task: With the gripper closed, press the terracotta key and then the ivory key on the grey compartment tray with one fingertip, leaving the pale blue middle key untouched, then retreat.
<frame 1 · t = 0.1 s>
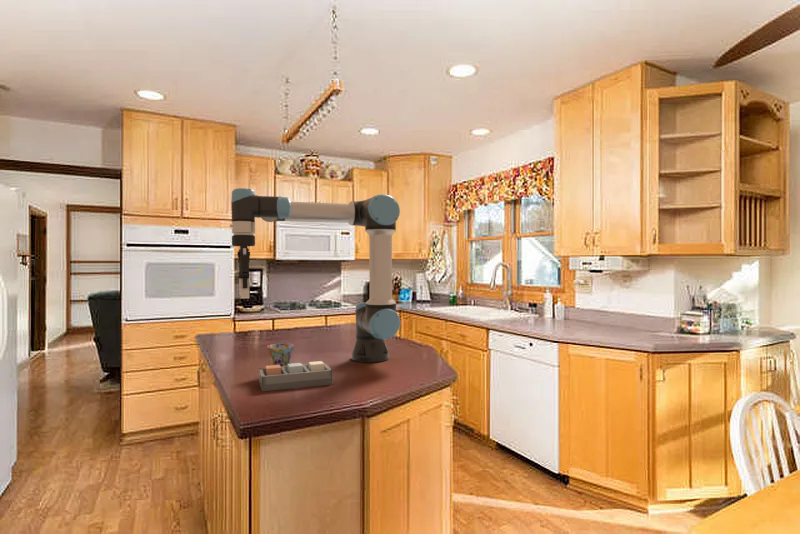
hand: (244, 297, 156), 28 cm above the counter, fingers open, 13 cm apart
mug: (280, 375, 161), on the counter
key middle: (295, 368, 150), point 5 cm above the counter, slide at 0.0 cm
key 2: (316, 366, 153), point 5 cm above the counter, slide at 0.0 cm
key 1: (273, 370, 148), point 5 cm above the counter, slide at 0.0 cm
grey compartment tray: (295, 382, 150), on the counter
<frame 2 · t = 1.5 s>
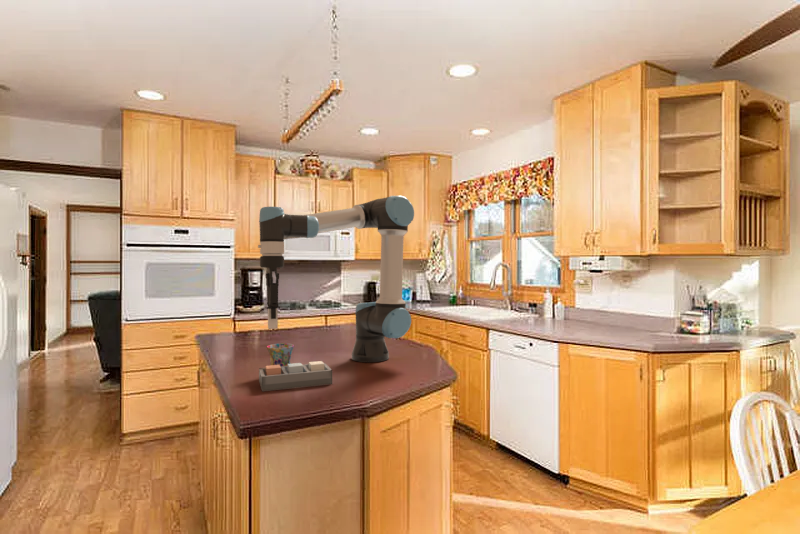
hand: (272, 328, 148), 18 cm above the counter, fingers closed
nothing on the counter moved.
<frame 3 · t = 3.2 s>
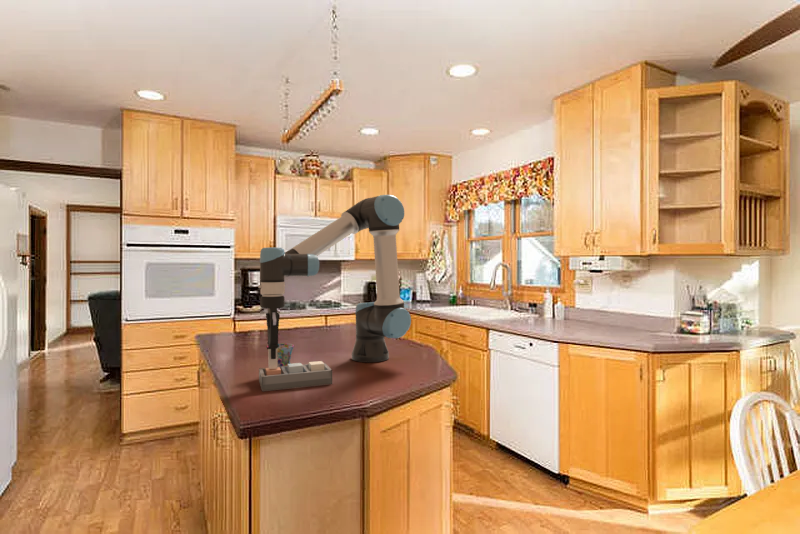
hand: (272, 368, 148), 5 cm above the counter, fingers closed
key 1: (273, 372, 148), point 4 cm above the counter, slide at -0.8 cm
everything else where it was.
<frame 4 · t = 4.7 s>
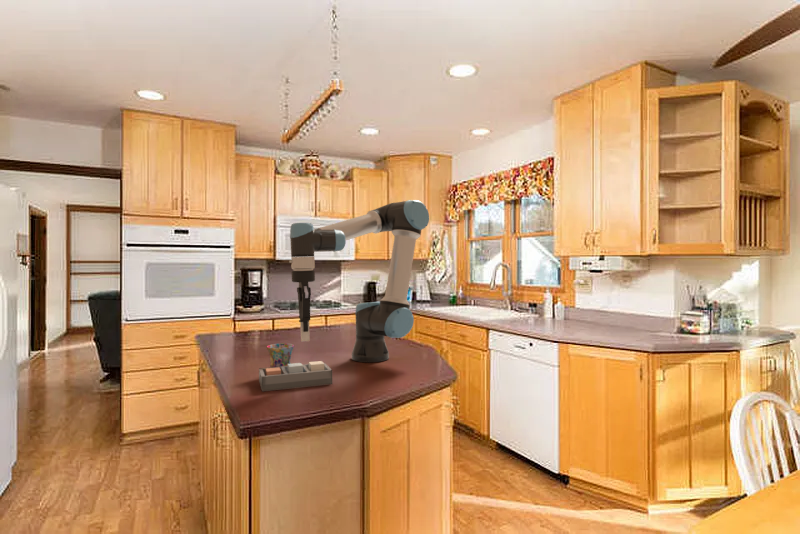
hand: (305, 340, 152), 14 cm above the counter, fingers closed
nothing on the counter moved.
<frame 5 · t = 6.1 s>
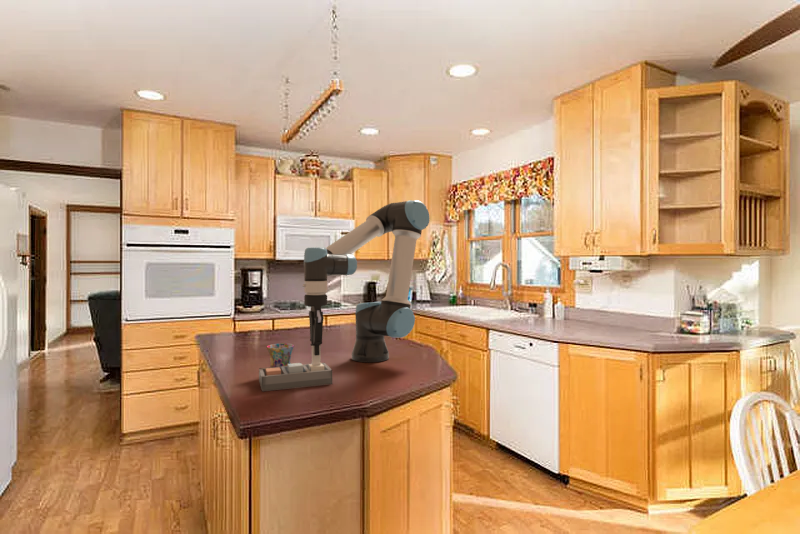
hand: (316, 364, 153), 6 cm above the counter, fingers closed
key 2: (316, 368, 153), point 4 cm above the counter, slide at -0.8 cm
everything else where it was.
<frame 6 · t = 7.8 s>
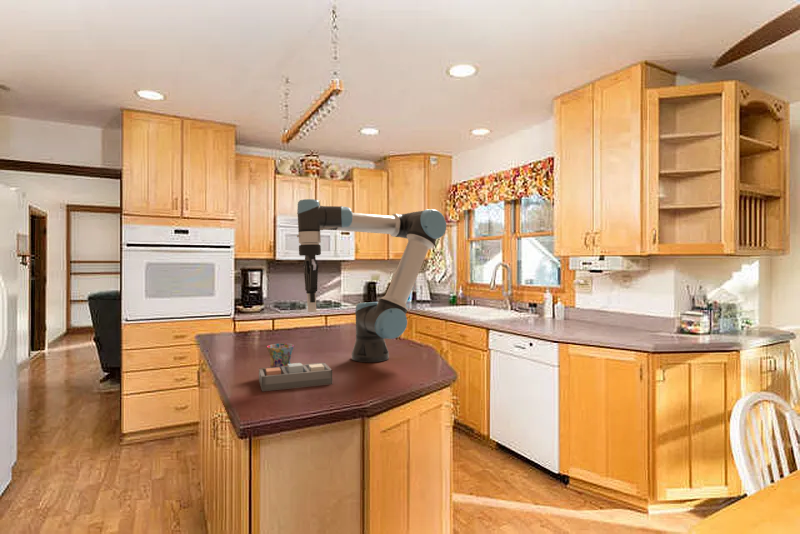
hand: (312, 311, 160), 22 cm above the counter, fingers closed
nothing on the counter moved.
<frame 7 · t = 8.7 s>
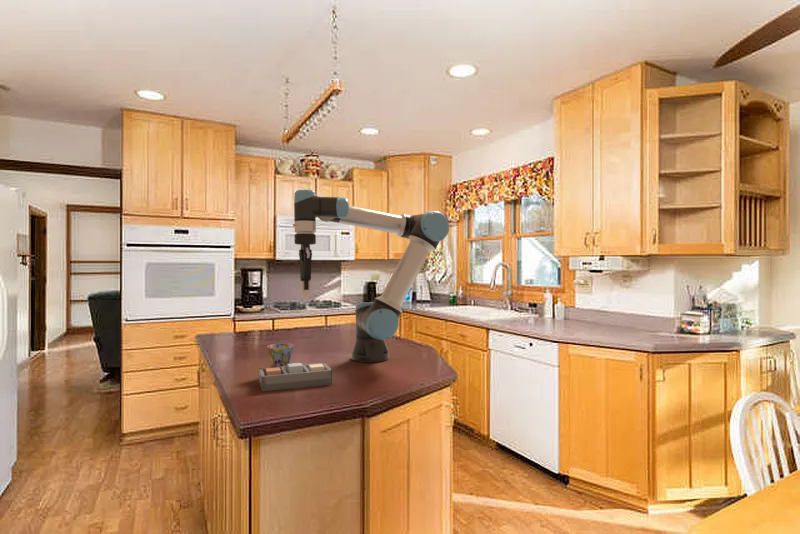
hand: (305, 298, 165), 26 cm above the counter, fingers closed
nothing on the counter moved.
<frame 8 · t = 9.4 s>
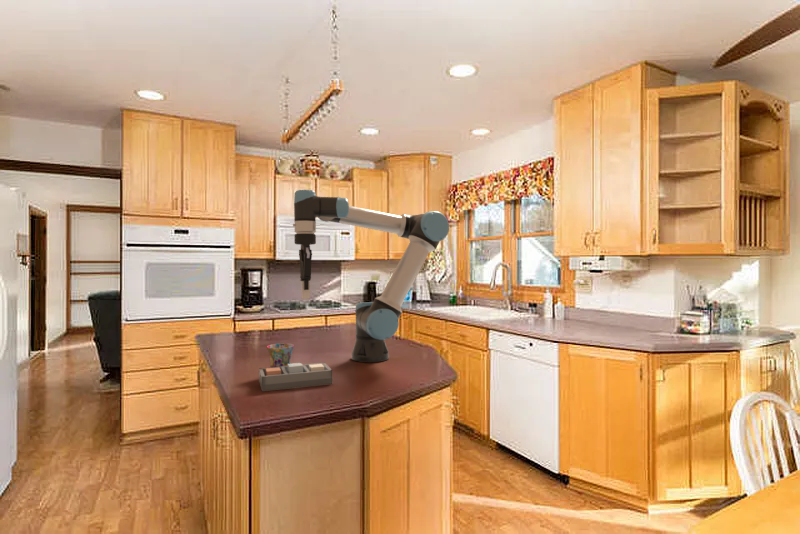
hand: (305, 298, 165), 26 cm above the counter, fingers closed
nothing on the counter moved.
at the end: key 1 slide at -0.9 cm; key 2 slide at -0.9 cm; key middle slide at 0.0 cm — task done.
